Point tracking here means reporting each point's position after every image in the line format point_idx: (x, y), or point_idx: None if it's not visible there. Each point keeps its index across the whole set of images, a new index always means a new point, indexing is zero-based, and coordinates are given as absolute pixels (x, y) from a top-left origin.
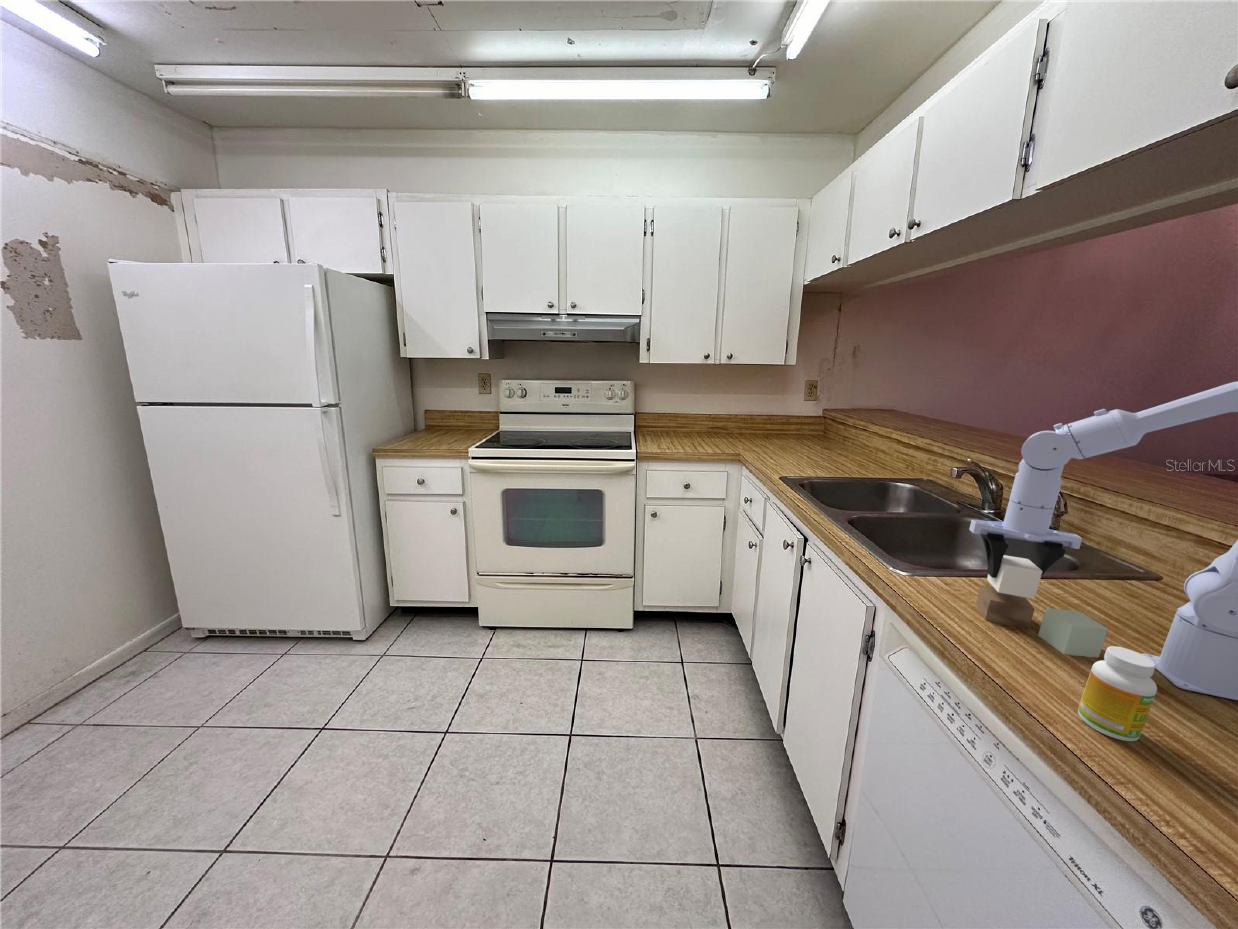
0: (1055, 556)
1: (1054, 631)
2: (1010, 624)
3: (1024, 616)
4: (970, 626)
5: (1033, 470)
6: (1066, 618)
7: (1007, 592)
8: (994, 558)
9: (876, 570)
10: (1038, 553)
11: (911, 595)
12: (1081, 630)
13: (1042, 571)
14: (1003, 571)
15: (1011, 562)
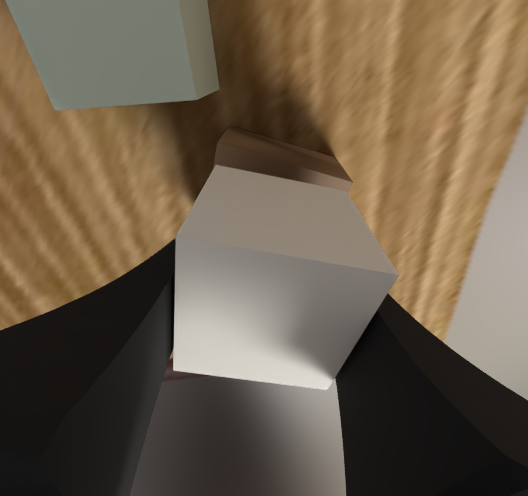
0: (15, 354)
1: (198, 15)
2: (275, 139)
3: (244, 140)
4: (425, 94)
5: None
6: None
7: (314, 188)
8: (429, 332)
9: (443, 342)
10: (137, 400)
11: (459, 250)
12: None
13: (154, 266)
14: (378, 249)
15: (312, 318)
